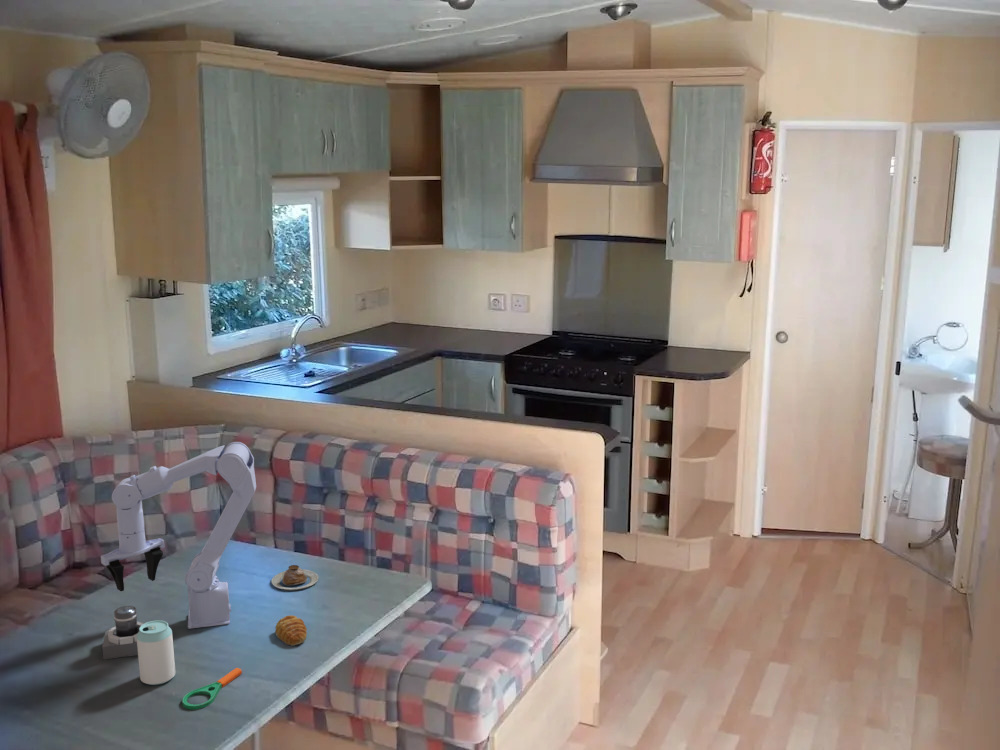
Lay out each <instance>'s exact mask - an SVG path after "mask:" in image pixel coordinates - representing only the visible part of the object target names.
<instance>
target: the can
mask: <svg viewBox="0 0 1000 750" xmlns="http://www.w3.org/2000/svg"><path fill="white" fill-rule="evenodd" d="M173 637H174V636H173V630H172V628H171V627H170V626H169V623H168V622H167V621H165V620H151V621H147V622H145V623H143V625H141V626H140V628H139V632H138V634H137V648H138V655H137V659H138V668H139V680H140V681H141V682H142V683H144V684H146V685H149V686H158V685H163V684H165V683H168V682H169V681H170V680H172V679H173V677H175V676H176V664H175V661H176V660H175V652H174V651H175V650H174V641H173Z"/></svg>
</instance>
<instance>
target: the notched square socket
mask: <svg viewBox="0 0 1000 750" xmlns="http://www.w3.org/2000/svg"><path fill="white" fill-rule="evenodd" d="M143 624H144V622H140V621H137V628H138V632H139V628H140V626H141V625H143ZM137 634H138V633H137ZM137 634H135V635H133V636H128V637H118V636H116V625H115V626H114V627H111V628H110V629H106V630H105V634H104V638H103V642H102V647H101V648H102V656H103V660H108V659H116V658H122V657H123V658H125V657H131V656H138V648H137Z"/></svg>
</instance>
